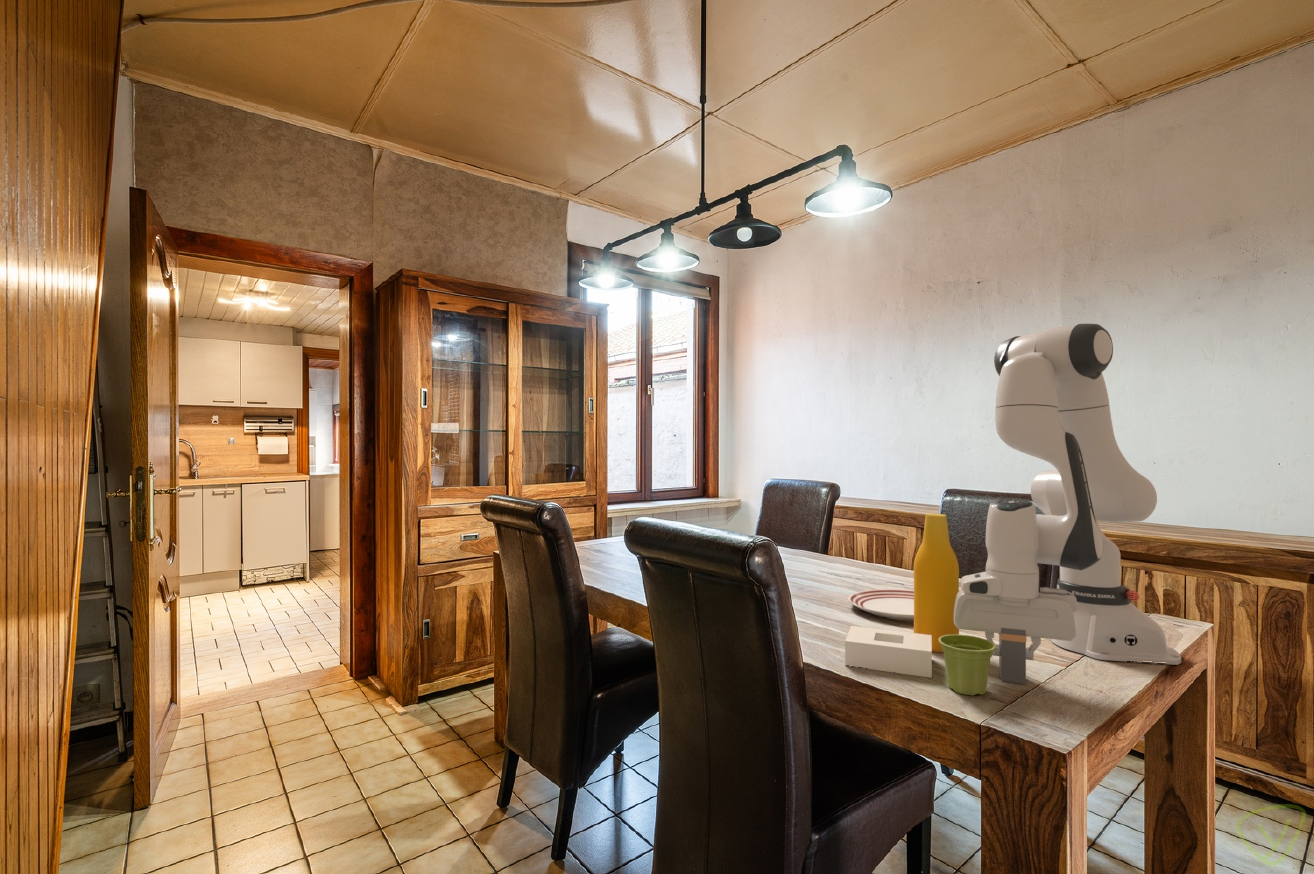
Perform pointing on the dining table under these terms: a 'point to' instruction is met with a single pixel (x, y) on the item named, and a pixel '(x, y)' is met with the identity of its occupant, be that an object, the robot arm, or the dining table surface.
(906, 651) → the socket block
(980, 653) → the plant pot
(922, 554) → the beer bottle
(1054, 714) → the dining table surface
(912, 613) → the dinner plate
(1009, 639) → the plug
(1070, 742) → the dining table surface
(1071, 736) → the dining table surface
